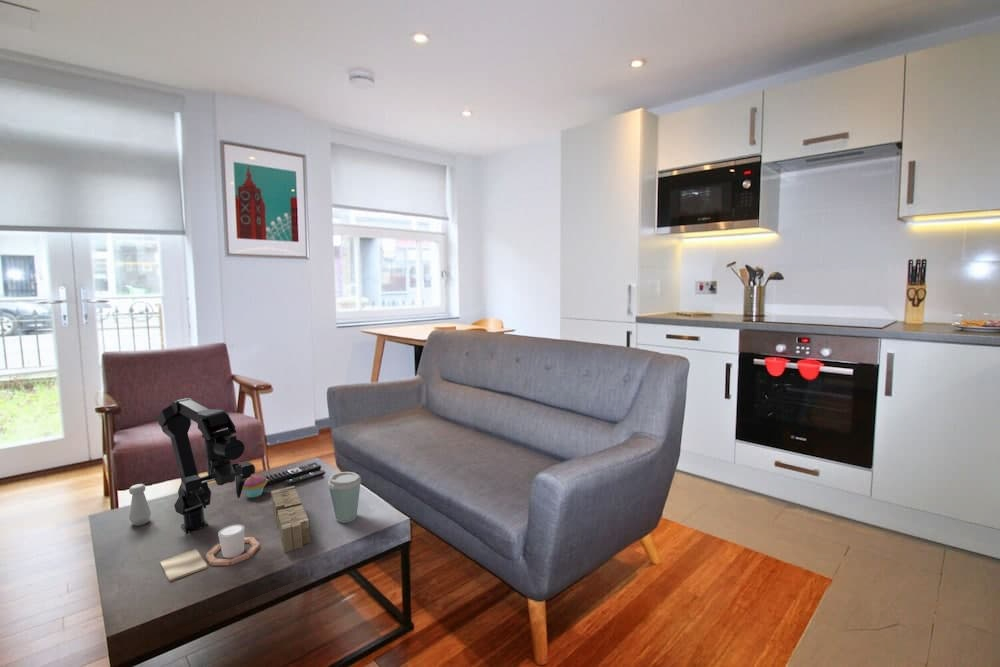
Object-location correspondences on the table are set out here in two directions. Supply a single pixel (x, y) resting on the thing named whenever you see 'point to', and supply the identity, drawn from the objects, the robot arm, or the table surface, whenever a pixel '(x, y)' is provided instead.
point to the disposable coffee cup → (345, 495)
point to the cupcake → (254, 485)
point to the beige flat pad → (183, 565)
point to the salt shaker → (139, 505)
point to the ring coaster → (234, 560)
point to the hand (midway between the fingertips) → (222, 502)
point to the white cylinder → (232, 540)
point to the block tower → (290, 518)
